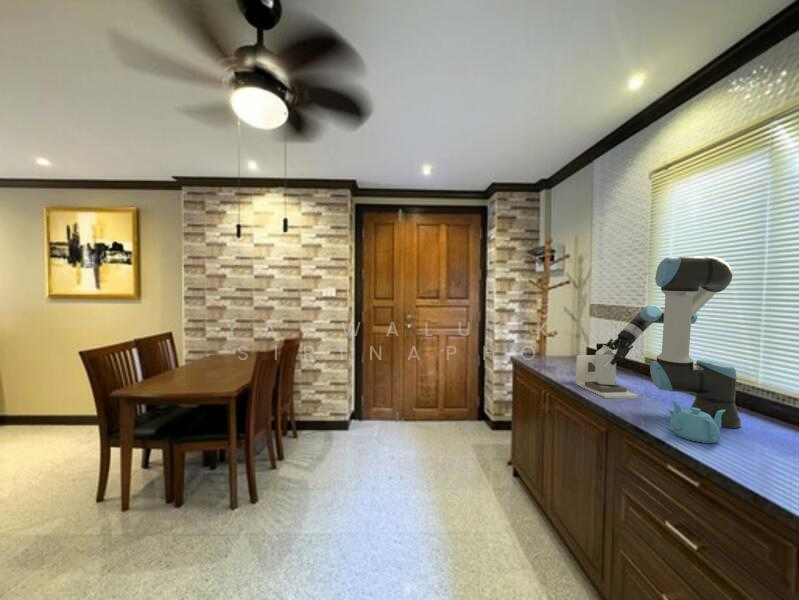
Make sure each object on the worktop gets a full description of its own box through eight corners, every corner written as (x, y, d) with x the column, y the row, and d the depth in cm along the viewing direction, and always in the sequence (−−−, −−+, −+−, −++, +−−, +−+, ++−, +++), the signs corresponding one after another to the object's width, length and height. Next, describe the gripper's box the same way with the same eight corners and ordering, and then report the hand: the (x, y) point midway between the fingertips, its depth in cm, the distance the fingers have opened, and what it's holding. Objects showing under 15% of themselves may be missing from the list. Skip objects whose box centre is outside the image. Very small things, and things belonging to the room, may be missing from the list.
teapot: (720, 451, 112) (721, 419, 111) (662, 436, 123) (663, 407, 122) (724, 438, 122) (725, 409, 121) (670, 425, 133) (671, 398, 132)
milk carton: (600, 384, 175) (601, 347, 174) (594, 380, 182) (595, 344, 181) (615, 385, 174) (616, 347, 173) (609, 381, 181) (610, 345, 180)
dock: (637, 397, 167) (638, 364, 166) (606, 398, 165) (607, 365, 164) (603, 384, 190) (603, 355, 190) (575, 384, 189) (576, 355, 188)
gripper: (651, 343, 168) (619, 376, 167) (618, 336, 189) (590, 366, 188) (641, 332, 167) (609, 365, 166) (609, 327, 189) (581, 356, 187)
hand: (599, 366), depth 177 cm, fingers closed on milk carton, 9 cm apart
